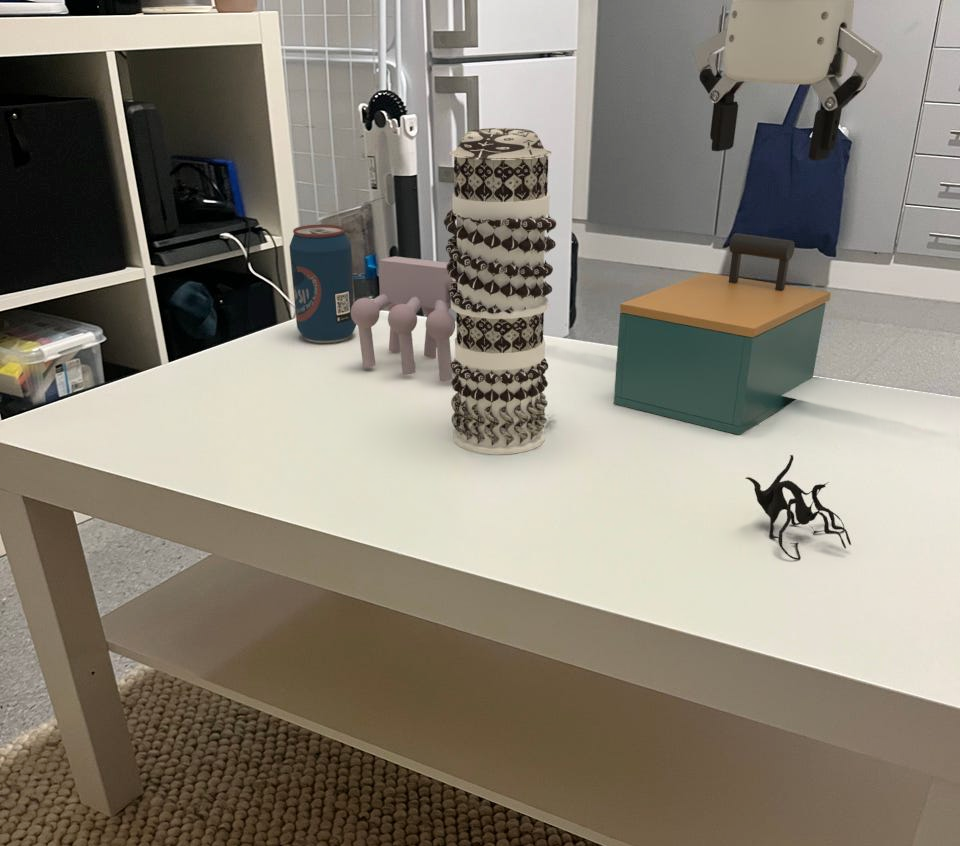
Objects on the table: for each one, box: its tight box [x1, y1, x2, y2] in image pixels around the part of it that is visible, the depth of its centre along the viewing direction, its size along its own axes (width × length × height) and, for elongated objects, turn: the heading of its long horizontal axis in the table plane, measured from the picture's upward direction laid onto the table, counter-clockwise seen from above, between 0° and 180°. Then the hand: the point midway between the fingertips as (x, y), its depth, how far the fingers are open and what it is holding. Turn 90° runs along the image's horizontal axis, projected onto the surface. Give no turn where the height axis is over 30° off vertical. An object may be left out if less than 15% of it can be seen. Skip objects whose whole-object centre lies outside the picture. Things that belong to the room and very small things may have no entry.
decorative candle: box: [443, 127, 557, 455], centre depth 85 cm, size 9×9×25 cm
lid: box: [619, 232, 831, 338], centre depth 95 cm, size 16×14×5 cm
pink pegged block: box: [351, 255, 456, 382], centre depth 105 cm, size 20×11×14 cm, turn 62°
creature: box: [744, 454, 852, 561], centre depth 73 cm, size 8×5×8 cm
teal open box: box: [613, 302, 827, 435], centre depth 99 cm, size 16×14×9 cm
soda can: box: [288, 224, 357, 344], centre depth 117 cm, size 7×7×12 cm
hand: (769, 154), depth 94 cm, fingers open, 9 cm apart
